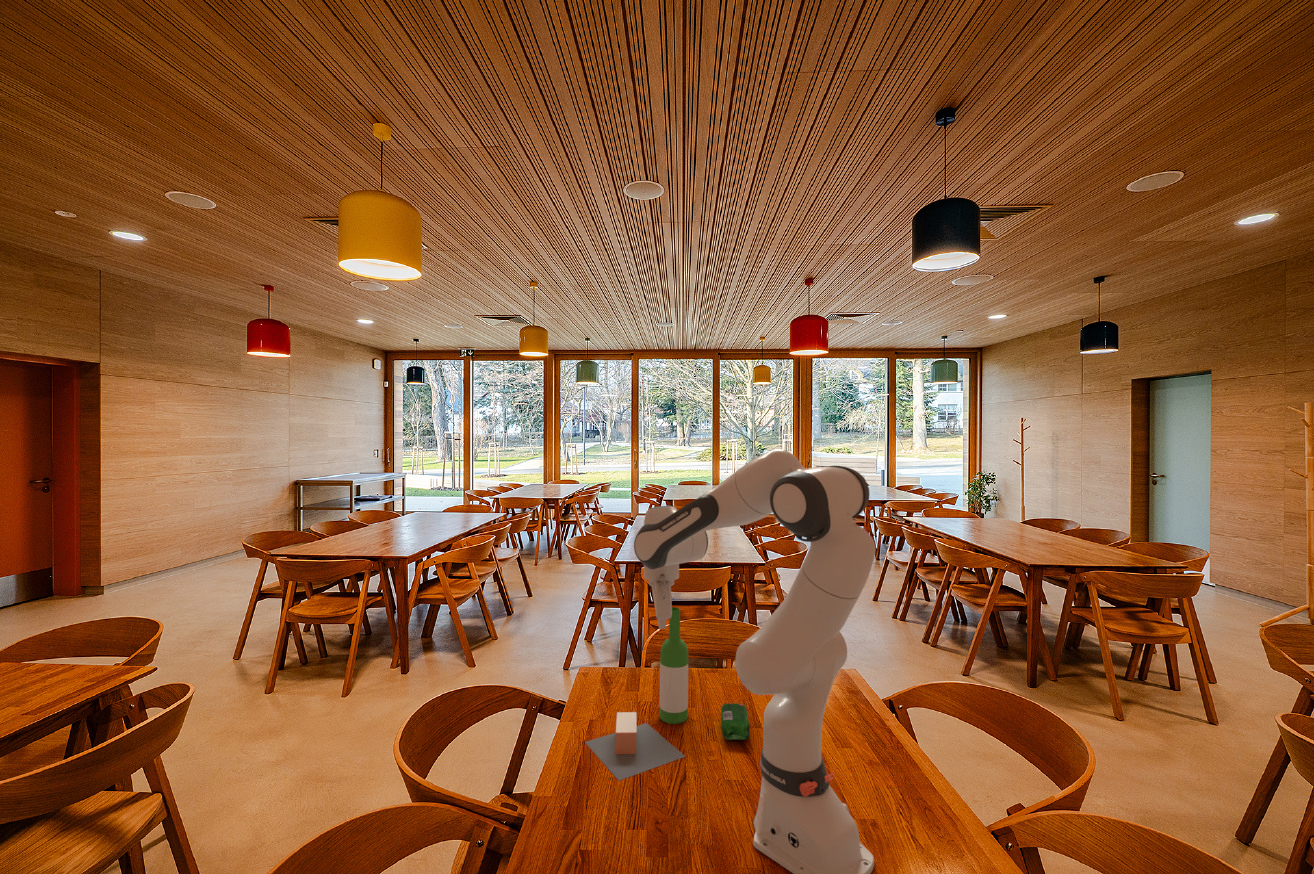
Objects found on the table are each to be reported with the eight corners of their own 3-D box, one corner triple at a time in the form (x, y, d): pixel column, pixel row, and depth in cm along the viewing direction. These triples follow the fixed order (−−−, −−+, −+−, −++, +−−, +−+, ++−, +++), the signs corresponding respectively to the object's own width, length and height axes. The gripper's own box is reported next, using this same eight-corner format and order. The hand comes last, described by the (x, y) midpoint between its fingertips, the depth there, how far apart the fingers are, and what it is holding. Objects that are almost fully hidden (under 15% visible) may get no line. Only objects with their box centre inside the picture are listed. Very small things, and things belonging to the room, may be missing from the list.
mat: (685, 758, 127) (685, 756, 127) (618, 783, 117) (618, 780, 117) (646, 725, 142) (646, 723, 142) (584, 744, 133) (584, 742, 133)
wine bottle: (656, 724, 143) (657, 611, 143) (662, 710, 150) (664, 603, 151) (684, 728, 141) (686, 614, 142) (690, 714, 148) (691, 605, 149)
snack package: (721, 747, 132) (722, 726, 132) (720, 716, 148) (720, 697, 148) (750, 750, 132) (750, 728, 132) (746, 718, 147) (746, 699, 147)
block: (636, 732, 128) (636, 712, 138) (615, 732, 128) (617, 712, 138) (636, 753, 128) (636, 731, 138) (615, 754, 127) (616, 731, 137)
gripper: (677, 579, 123) (678, 640, 122) (671, 563, 143) (671, 615, 142) (650, 579, 122) (650, 641, 121) (647, 563, 143) (648, 616, 142)
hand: (662, 627), depth 132 cm, fingers closed
